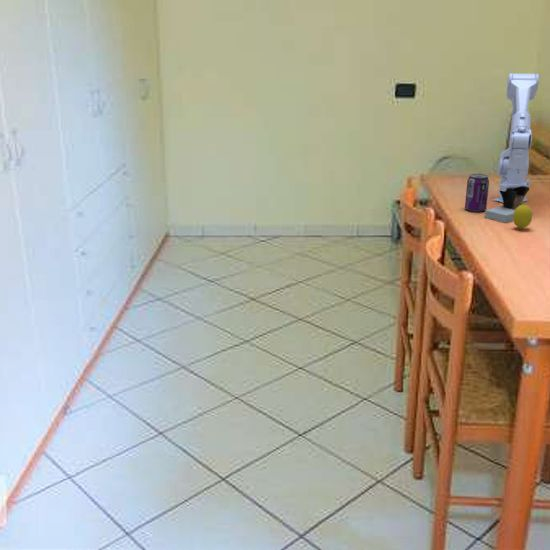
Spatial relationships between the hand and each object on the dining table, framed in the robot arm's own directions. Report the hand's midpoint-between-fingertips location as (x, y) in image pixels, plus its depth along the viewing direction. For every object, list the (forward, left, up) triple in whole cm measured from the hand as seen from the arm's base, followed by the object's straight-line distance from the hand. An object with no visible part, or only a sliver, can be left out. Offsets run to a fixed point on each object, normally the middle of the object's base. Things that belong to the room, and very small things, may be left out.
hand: (512, 208), depth 227 cm
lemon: (+14, +13, -2) cm, 19 cm away
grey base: (+8, +2, -1) cm, 8 cm away
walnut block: (0, 0, -1) cm, 1 cm away
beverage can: (+6, -10, -2) cm, 12 cm away
